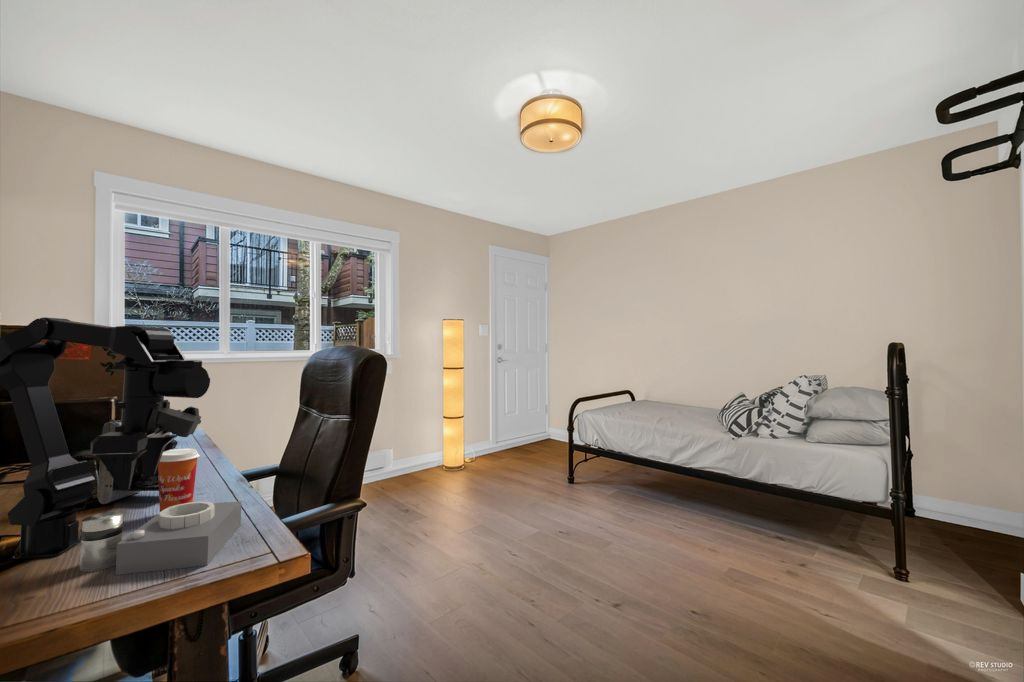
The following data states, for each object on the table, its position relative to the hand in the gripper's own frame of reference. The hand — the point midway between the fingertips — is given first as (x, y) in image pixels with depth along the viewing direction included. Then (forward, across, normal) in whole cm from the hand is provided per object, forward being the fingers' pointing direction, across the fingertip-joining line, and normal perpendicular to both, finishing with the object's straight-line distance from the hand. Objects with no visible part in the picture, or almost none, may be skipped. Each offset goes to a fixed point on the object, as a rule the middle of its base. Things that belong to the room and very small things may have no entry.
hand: (138, 482), depth 78 cm
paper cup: (+13, +21, +1) cm, 25 cm away
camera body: (+13, +2, -7) cm, 15 cm away
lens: (+13, -2, +4) cm, 14 cm away
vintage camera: (+14, +35, +12) cm, 40 cm away
